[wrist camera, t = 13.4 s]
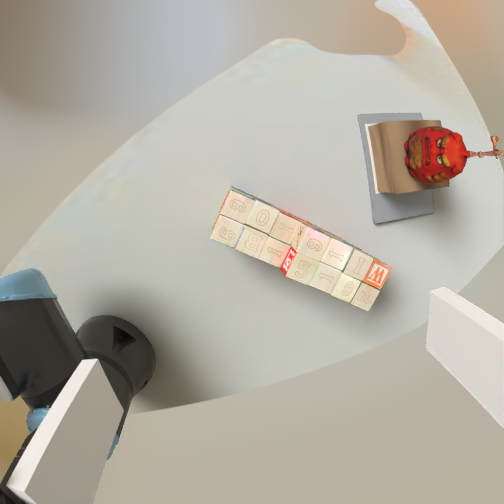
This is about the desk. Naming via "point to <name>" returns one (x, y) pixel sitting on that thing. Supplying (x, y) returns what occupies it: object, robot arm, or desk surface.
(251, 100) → the desk surface
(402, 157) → the plinth
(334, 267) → the stack of blocks
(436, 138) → the red clay folk toy
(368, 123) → the board
